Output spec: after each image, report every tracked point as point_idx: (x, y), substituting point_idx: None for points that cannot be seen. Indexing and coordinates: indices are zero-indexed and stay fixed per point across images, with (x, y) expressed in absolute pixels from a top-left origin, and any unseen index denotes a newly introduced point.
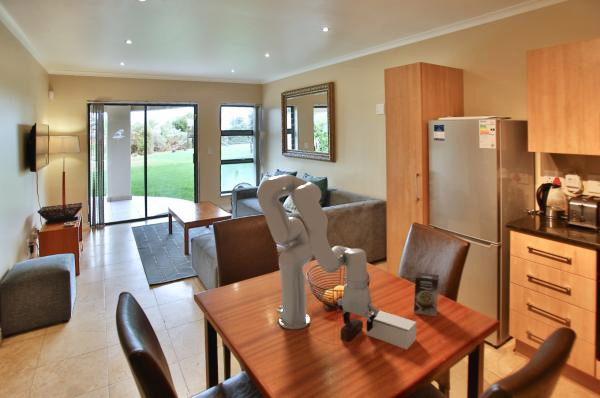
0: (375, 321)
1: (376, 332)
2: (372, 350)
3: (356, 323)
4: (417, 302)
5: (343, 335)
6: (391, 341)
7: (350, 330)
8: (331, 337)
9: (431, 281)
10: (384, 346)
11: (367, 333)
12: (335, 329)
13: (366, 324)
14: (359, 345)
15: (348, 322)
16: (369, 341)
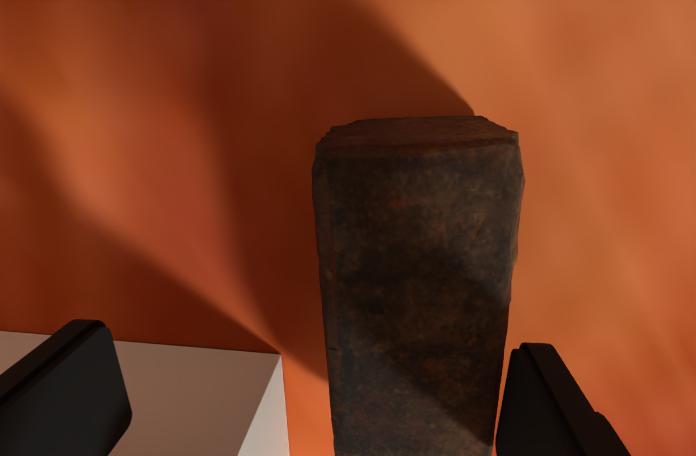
0: None
1: (131, 393)
2: (58, 138)
3: (357, 426)
4: None
5: (441, 125)
6: (7, 349)
7: (315, 192)
8: (629, 73)
9: None
10: (40, 269)
11: (261, 366)
12: (651, 280)
13: (9, 410)
14: (214, 138)
15: (489, 399)
16: (187, 269)
